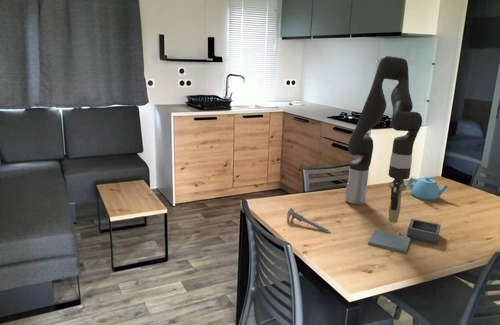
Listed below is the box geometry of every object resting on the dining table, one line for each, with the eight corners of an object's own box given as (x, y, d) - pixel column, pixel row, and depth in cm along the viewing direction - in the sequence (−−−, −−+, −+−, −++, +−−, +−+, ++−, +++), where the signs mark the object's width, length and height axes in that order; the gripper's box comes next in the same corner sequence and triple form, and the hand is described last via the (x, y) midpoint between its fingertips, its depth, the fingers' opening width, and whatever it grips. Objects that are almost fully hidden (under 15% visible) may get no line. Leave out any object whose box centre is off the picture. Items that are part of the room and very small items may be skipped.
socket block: (406, 238, 164) (407, 228, 163) (410, 228, 174) (411, 218, 172) (437, 245, 159) (438, 234, 158) (439, 234, 169) (440, 224, 167)
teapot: (429, 191, 224) (432, 172, 221) (447, 201, 210) (450, 181, 207) (404, 192, 221) (407, 173, 219) (420, 201, 207) (423, 181, 204)
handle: (395, 225, 154) (401, 188, 150) (382, 219, 159) (386, 183, 155) (403, 223, 156) (409, 186, 153) (390, 217, 162) (394, 181, 158)
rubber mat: (368, 244, 157) (368, 241, 157) (374, 232, 169) (375, 229, 168) (406, 253, 151) (406, 250, 151) (410, 240, 162) (410, 237, 162)
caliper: (286, 220, 177) (287, 207, 176) (288, 220, 178) (288, 206, 176) (329, 233, 166) (331, 219, 164) (331, 233, 167) (332, 218, 165)
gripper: (393, 159, 160) (387, 200, 164) (386, 167, 147) (381, 211, 152) (413, 162, 156) (407, 204, 161) (408, 170, 144) (402, 216, 148)
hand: (394, 207), depth 156 cm, fingers closed on handle, 4 cm apart
